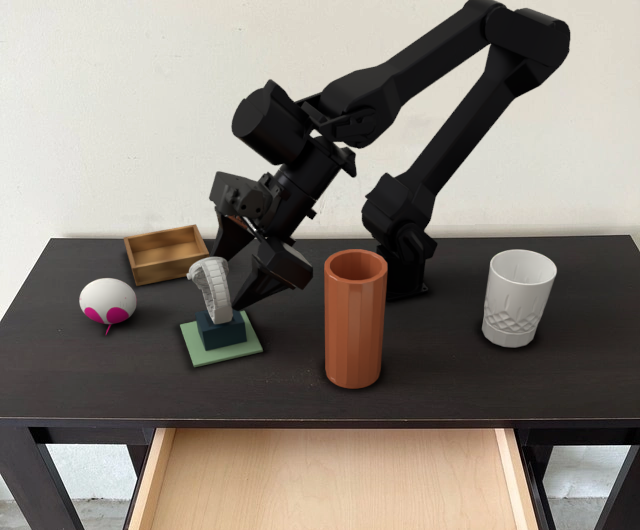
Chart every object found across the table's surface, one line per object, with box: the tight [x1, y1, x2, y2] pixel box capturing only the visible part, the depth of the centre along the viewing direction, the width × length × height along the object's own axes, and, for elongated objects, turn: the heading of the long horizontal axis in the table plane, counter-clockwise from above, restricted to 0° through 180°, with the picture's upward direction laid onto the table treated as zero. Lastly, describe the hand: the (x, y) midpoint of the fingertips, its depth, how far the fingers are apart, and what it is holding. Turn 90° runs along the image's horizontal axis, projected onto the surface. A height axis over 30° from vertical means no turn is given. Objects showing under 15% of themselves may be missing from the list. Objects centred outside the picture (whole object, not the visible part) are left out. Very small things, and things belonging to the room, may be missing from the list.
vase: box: [323, 248, 387, 390], centre depth 77 cm, size 7×7×15 cm
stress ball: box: [77, 277, 138, 335], centre depth 89 cm, size 8×8×7 cm
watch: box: [186, 257, 247, 351], centre depth 83 cm, size 6×8×11 cm
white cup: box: [481, 249, 558, 348], centre depth 83 cm, size 8×8×10 cm
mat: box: [179, 310, 264, 368], centre depth 87 cm, size 9×9×1 cm
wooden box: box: [123, 224, 210, 287], centre depth 99 cm, size 11×9×3 cm
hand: (221, 289), depth 82 cm, fingers open, 9 cm apart
